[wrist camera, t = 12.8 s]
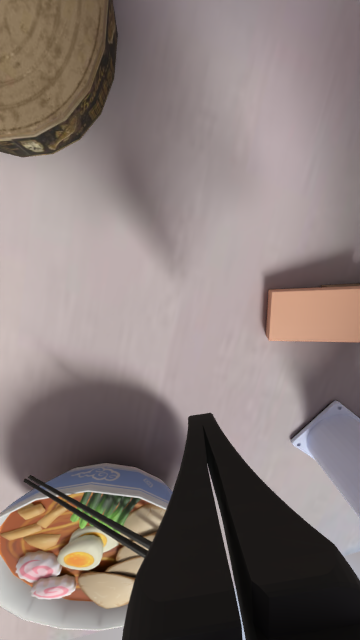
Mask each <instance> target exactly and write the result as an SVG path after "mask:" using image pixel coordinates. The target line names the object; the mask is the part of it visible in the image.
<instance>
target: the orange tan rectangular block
mask: <svg viewBox="0 0 360 640" xmlns="http://www.w3.org/2000/svg"><path fill="white" fill-rule="evenodd" d="M266 336H267V338H268V340H269V341H314V342H360V286H347V287H322V288H296V289H271V290H269V291H268V308H267V326H266Z"/></svg>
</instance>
